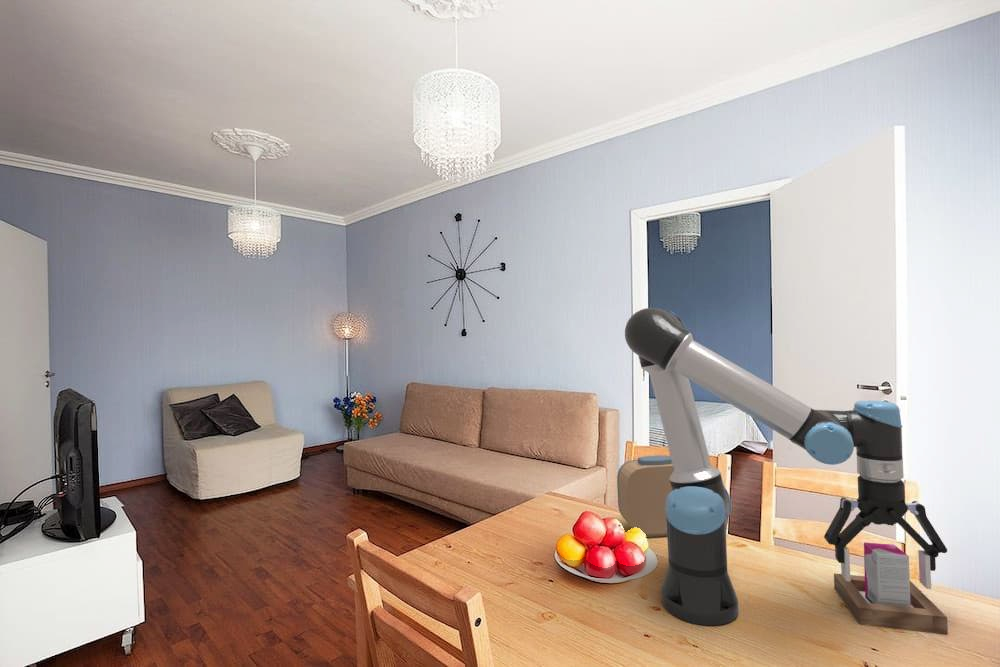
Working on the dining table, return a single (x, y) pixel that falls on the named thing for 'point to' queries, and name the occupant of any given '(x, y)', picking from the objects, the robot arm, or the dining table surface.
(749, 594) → the dining table surface
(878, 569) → the supplement box
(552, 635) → the dining table surface
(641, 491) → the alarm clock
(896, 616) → the socket block
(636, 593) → the dining table surface
